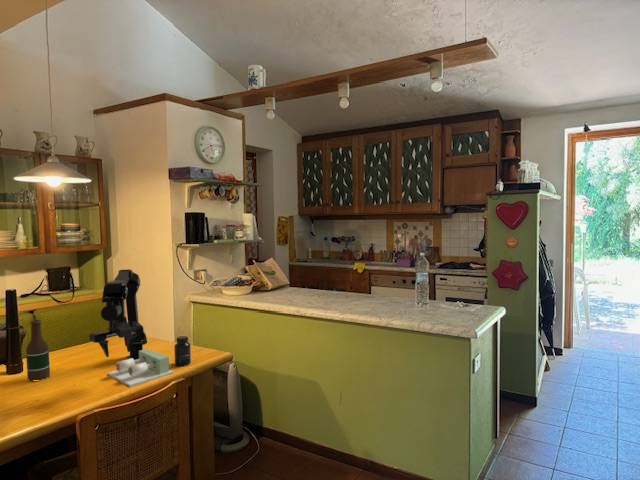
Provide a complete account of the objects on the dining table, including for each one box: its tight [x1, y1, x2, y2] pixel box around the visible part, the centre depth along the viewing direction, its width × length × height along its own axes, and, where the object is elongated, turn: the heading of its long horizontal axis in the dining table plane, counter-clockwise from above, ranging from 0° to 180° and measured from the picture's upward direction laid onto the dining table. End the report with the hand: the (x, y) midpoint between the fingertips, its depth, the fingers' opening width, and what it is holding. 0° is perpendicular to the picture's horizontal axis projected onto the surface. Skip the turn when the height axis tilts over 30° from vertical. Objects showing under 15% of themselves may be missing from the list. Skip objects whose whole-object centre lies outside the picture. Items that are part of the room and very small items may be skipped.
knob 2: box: [128, 362, 156, 376], centre depth 178 cm, size 12×4×4 cm, turn 139°
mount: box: [107, 348, 174, 388], centre depth 181 cm, size 20×18×7 cm
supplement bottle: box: [173, 335, 192, 367], centre depth 193 cm, size 7×7×12 cm
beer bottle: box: [25, 319, 51, 382], centre depth 178 cm, size 8×8×24 cm
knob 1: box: [115, 357, 146, 372], centre depth 183 cm, size 12×4×4 cm, turn 139°
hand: (118, 354), depth 170 cm, fingers open, 8 cm apart
